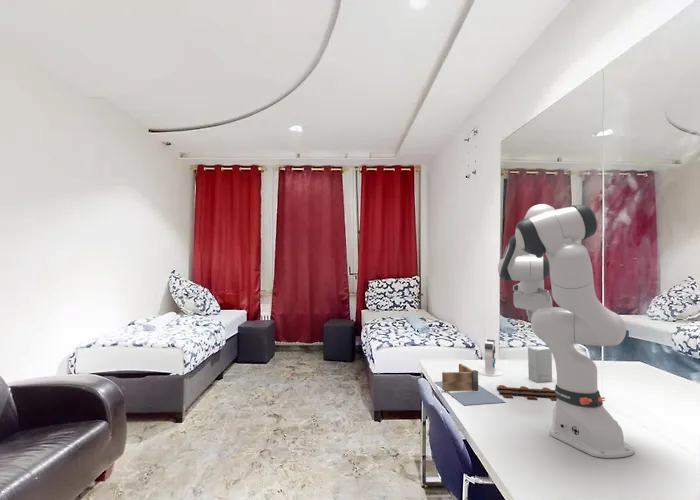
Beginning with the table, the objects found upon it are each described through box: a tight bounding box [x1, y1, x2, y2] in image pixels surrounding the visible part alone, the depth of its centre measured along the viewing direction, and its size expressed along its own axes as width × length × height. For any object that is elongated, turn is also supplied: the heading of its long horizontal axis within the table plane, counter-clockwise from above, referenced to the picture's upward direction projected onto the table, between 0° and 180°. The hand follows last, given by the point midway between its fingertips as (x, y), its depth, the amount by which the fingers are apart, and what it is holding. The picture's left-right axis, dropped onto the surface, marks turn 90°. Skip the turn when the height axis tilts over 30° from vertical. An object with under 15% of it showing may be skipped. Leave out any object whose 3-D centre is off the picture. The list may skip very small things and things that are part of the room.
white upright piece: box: [477, 339, 503, 377], centre depth 187 cm, size 12×11×15 cm
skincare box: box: [527, 345, 553, 383], centre depth 175 cm, size 8×6×15 cm
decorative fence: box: [496, 384, 557, 402], centre depth 158 cm, size 23×2×15 cm
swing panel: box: [441, 371, 472, 391], centre depth 161 cm, size 12×1×7 cm, turn 91°
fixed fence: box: [458, 363, 479, 391], centre depth 167 cm, size 15×2×8 cm, turn 10°
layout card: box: [434, 380, 507, 407], centre depth 160 cm, size 28×17×1 cm, turn 10°
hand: (532, 321), depth 159 cm, fingers closed
